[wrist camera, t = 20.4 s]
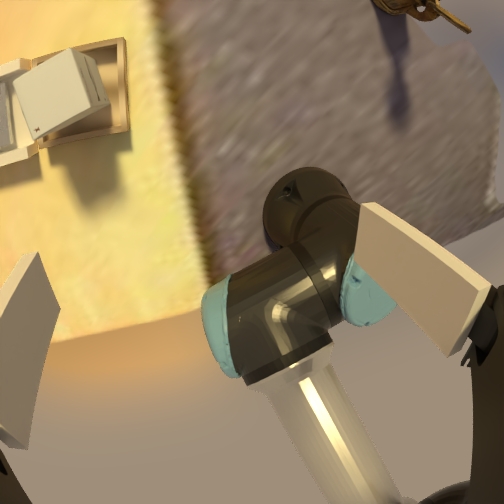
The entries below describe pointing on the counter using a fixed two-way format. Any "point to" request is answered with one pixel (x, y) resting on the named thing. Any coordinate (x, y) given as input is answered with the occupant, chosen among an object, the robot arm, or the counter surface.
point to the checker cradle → (16, 116)
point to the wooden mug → (398, 3)
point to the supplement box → (60, 92)
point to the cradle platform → (5, 117)
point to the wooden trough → (115, 83)
